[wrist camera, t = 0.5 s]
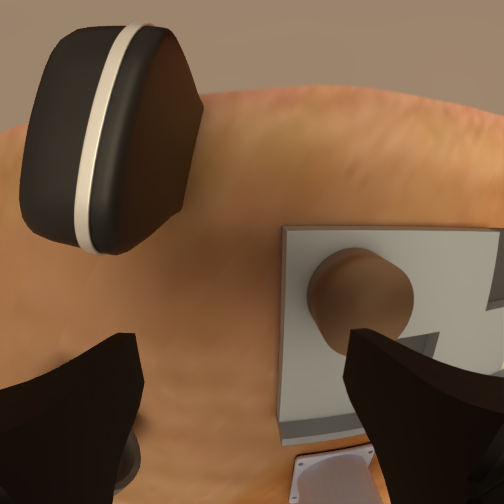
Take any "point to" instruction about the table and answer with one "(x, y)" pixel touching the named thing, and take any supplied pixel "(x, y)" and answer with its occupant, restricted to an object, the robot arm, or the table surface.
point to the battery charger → (109, 138)
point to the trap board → (417, 330)
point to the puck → (358, 296)
